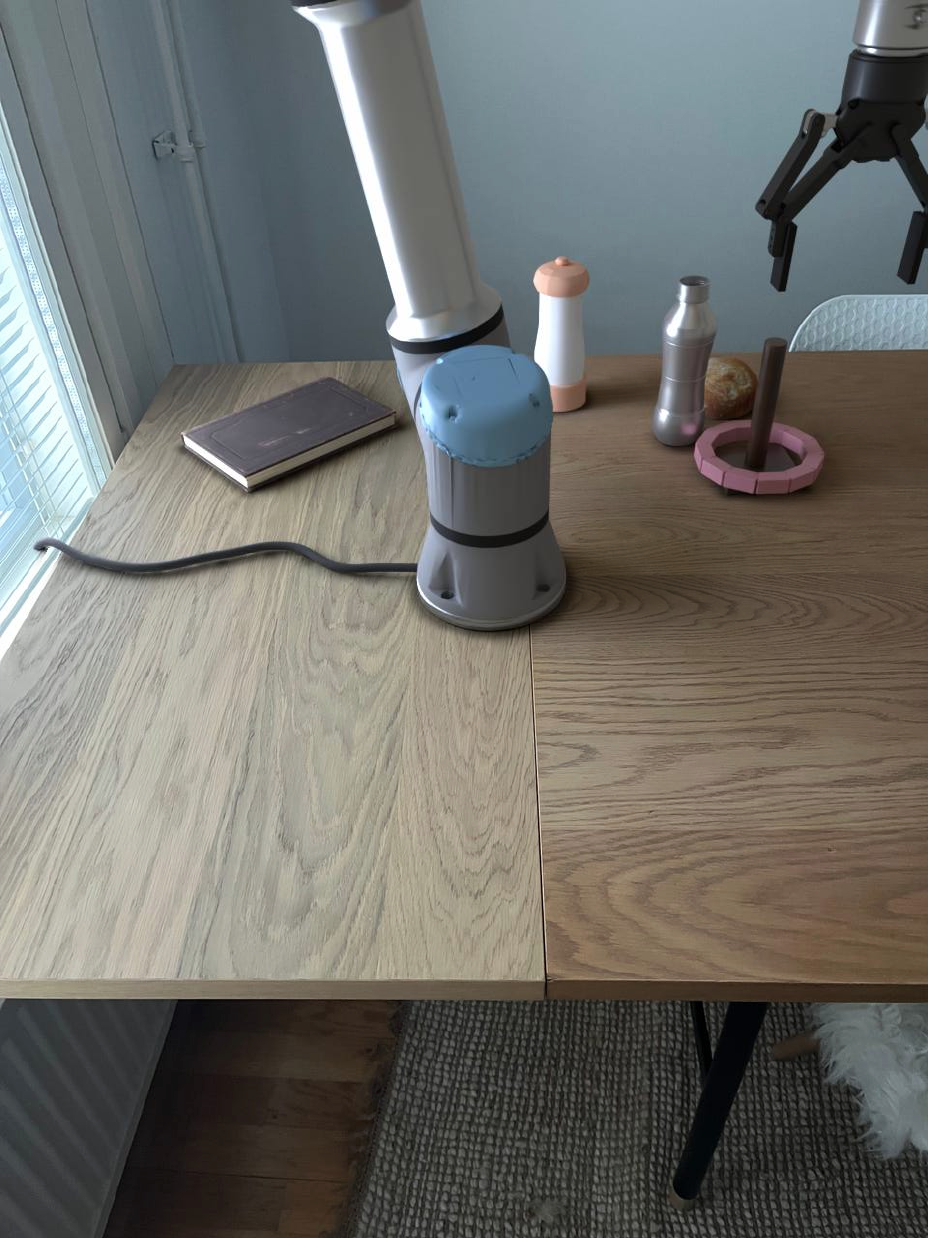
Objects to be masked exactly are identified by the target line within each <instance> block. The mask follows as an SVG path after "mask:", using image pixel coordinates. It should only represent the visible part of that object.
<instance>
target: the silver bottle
mask: <svg viewBox="0 0 928 1238" xmlns="http://www.w3.org/2000/svg"><path fill="white" fill-rule="evenodd" d="M675 298H676V299H677V301H676V302H675V303H674V304H673V305H672V307H671V308H670V309H669V311H668V312H667V313H666V315H665V316H664V318H663V321H662V323H661V344H662V345H661V349H662V361H661V365H662V367H661V368H662V370H661V379H660V385H659V389H658V396H657V401H656V403H655V407H654V409H653V413H652V418H651V425H652V432H653V435H654V436H655V438H656V439H657V440H658V441H659V442H661V443H662V444H664V445H668V446H673V447H683V446H689V445H691V444H694V443H696V442H697V440H698V439H699V438H700V437H701V435H702V434H703V432H704V428H705V424H706V417H705V406H704V395H705V379H706V374H707V372H706V371H707V369H708V363H709V358H711V355H712V351H713V347H714V344H715V340H716V336H717V332H718V322H717V317H716V315H715V313H714V311H713V309H712V307H711V306H710V304H709V303H708V300H710V298H711V279H710V278H709V277H707V276H703V275H698V274H693V275H692V274H691V275H684V276H682V277H680V278H679V279H678V281H677V290H676V293H675Z"/></svg>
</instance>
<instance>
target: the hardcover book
mask: <svg viewBox="0 0 928 1238" xmlns="http://www.w3.org/2000/svg"><path fill="white" fill-rule="evenodd" d="M395 414H397V410H395V409H393V408H391V407H390V406H387V405H385V404H383V403H381V402H379V401H378V400H376V399H374V398H373V397H370V396H368V395H366V394H365V393H364V392H361V391H359V390H356V389H355V388H353V387H351V386H349V385H347V384H346V383H344V382H341V381H340V380H338V379H336V378H334V377H332V376H330V375H325V376H323V377H320V378H318V379H316V380H313V381H310V382H307V383H304V384H303V385H300V386H297V387H294V388H292V389H290V390H287V391H284V392H282V393H279V394H277V395H275V396H272V397H269V398H267V399H264V400H261V401H259V402H256V403H253V404H252V405H248V406H246V407H243V408H240V409H238V410H236V411H233V412H230V413H227V414H225V415H223V416H220V417H218V418H214V419H213V420H210V421H208V422H205V423H202V424H199V425H197V426H194V427H192V428H189V429H187V430H184V431H181V433H180V439H181V442H182V445H183V446H184V448H186V450H188V451H189V452H190V453H192V454H193V455H194V456H196V457H198V458H199V459H201V461H203V462H204V463H206V464H207V465H209V466H210V467H212V468H213V469H215V471H217V472H219V473H220V474H221V475H223V476H224V477H226V478H227V479H228V480H230V481H231V482H233V483H234V484H235V485H237V486H238V487H239V488H241V489H242V490H244V491H245V492H247V493H250V492H252V491H254V490H257V489H259V488H261V487H264V486H266V485H267V484H270V483H272V482H275V481H277V480H280V479H282V478H284V477H287V476H289V475H291V474H293V473H295V472H297V471H300V470H302V469H305V468H307V467H309V466H311V465H313V464H316V463H318V462H321V461H323V460H325V459H327V458H329V457H331V456H335V455H337V454H338V453H340V452H343V451H345V450H348V449H350V448H353V447H354V446H356V445H359V444H361V443H364V442H365V441H368V440H370V439H373V438H375V437H377V436H379V435H381V434H384V433H386V432H388V431H390V430H393V429H395V428H397V427H399V424H398V423H395V419H396V417H394V416H395Z"/></svg>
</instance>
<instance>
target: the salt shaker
mask: <svg viewBox="0 0 928 1238" xmlns="http://www.w3.org/2000/svg"><path fill="white" fill-rule="evenodd" d="M590 281H591V278H590V272H589V271H588V269H587V268H586V267H585V265H584V264H582V263H580V262H578V261H575V260H571V259H569V258H568V257H567V256H563V255H562V256H561V255H560V256H558V257H557V258H556V259H555V260H550V261H548V262H545V263H543V264H541V265H540V266H539V267H538V268H537V269H536V270H535V273H534V277H533V284H534V287H535V289H536V291H537V292H538V293H539V316H538V317H539V319H538V320H539V321H538V322H539V323H538V329H537V335H536V341H535V346H534V361H535V362H536V363H538V364H539V365H540V366H541V368H542V369H543V370H544V372H545V374H546V376H547V378H548V381H549V384H550V390H551V398H552V403H553V413H565V412H570V411H571V412H572V411H574V410H577V409H579V408H581V407H582V406H584V404H585V403H586V395H587V394H586V393H587V392H586V391H587V375H586V373H585V371H584V370H585V357H586V345H585V337H584V328H583V301H584V300H583V299H584V292H586V290H587V289H588V287H589V285H590Z"/></svg>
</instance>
